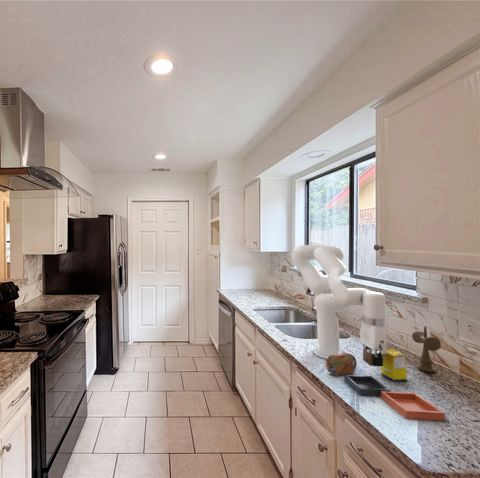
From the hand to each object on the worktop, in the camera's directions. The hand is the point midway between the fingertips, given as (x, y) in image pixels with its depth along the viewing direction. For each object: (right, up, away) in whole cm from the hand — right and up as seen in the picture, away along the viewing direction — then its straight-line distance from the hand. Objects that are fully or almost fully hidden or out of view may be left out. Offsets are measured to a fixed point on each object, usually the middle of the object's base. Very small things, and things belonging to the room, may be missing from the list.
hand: (372, 362), depth 114 cm
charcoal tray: (-10, -6, -9) cm, 15 cm away
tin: (-11, -7, +3) cm, 14 cm away
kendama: (+28, -6, +5) cm, 29 cm away
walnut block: (0, 0, 0) cm, 0 cm away
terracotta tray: (-4, -6, -21) cm, 23 cm away
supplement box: (+8, -7, -1) cm, 11 cm away
